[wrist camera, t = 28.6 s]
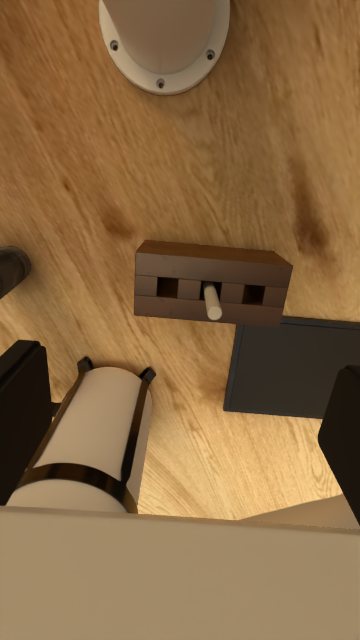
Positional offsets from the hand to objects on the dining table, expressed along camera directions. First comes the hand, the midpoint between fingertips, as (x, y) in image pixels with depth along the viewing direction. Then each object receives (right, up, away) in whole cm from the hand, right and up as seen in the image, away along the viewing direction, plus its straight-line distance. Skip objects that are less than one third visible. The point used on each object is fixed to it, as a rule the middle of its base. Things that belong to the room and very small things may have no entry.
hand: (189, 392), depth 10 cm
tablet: (+18, -5, +36) cm, 41 cm away
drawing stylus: (+3, +8, +31) cm, 32 cm away
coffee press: (-12, -9, +39) cm, 41 cm away
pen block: (+3, +8, +31) cm, 32 cm away
